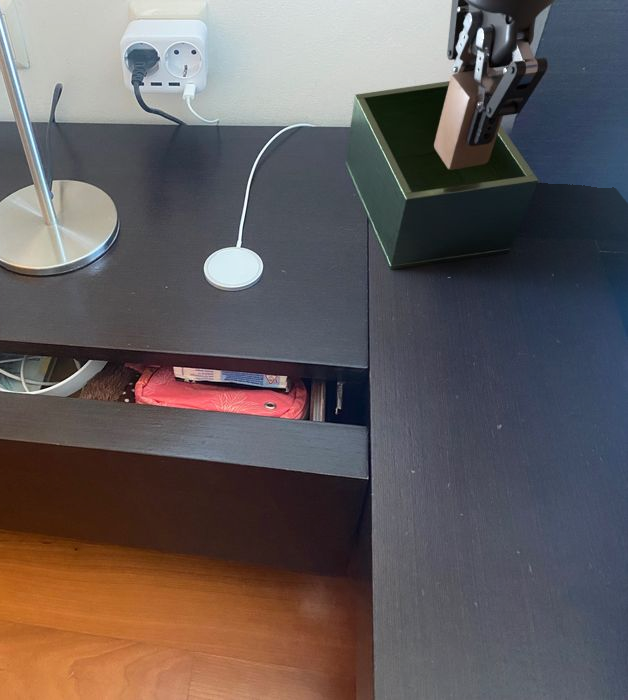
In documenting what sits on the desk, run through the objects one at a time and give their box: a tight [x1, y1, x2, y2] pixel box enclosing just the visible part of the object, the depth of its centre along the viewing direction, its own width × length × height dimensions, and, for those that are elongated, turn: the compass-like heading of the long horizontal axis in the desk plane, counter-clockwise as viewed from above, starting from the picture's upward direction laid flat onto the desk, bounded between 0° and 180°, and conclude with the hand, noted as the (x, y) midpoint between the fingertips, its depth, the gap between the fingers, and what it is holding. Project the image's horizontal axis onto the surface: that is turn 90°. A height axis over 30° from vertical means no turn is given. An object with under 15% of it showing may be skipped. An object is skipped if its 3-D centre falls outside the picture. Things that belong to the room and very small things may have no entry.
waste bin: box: [344, 80, 539, 271], centre depth 77 cm, size 18×13×10 cm
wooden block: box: [434, 68, 504, 170], centre depth 66 cm, size 4×4×8 cm
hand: (468, 126), depth 67 cm, fingers closed on wooden block, 4 cm apart
